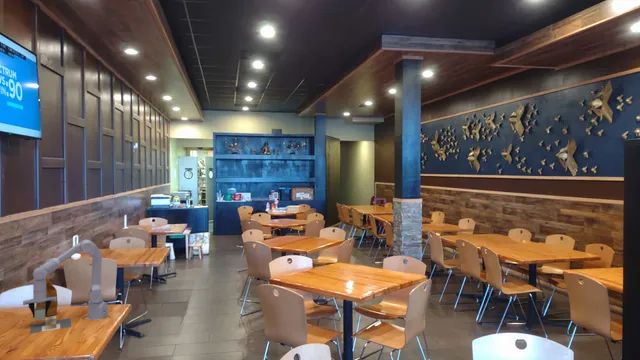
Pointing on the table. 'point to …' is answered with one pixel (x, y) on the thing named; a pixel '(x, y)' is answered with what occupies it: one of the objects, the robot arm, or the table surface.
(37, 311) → the sage block
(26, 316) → the table surface
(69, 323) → the board
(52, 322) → the walnut block
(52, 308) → the coffee package
